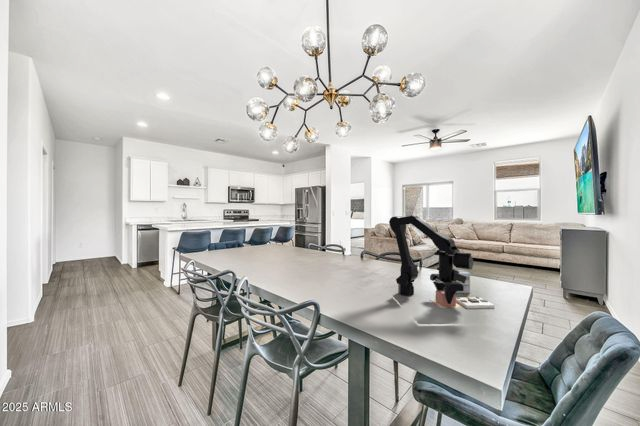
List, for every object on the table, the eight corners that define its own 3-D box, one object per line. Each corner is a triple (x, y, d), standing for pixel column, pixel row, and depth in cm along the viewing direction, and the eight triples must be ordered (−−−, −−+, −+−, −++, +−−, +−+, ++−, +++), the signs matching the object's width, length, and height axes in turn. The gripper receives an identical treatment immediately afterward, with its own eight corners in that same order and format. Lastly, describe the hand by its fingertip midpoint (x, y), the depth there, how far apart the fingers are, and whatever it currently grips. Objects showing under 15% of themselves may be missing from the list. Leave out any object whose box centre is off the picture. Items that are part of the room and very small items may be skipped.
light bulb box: (464, 290, 140) (464, 270, 140) (470, 294, 133) (470, 273, 133) (443, 290, 141) (443, 269, 141) (448, 294, 134) (448, 272, 134)
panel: (466, 310, 113) (466, 304, 113) (454, 301, 123) (454, 296, 123) (494, 309, 113) (494, 304, 113) (479, 301, 123) (479, 296, 123)
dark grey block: (472, 306, 116) (472, 300, 116) (468, 303, 119) (468, 298, 119) (478, 306, 116) (479, 300, 116) (474, 303, 119) (474, 298, 119)
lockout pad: (439, 309, 113) (439, 307, 113) (429, 301, 123) (429, 299, 123) (463, 309, 114) (463, 307, 114) (450, 301, 124) (450, 299, 124)
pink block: (442, 305, 115) (442, 294, 115) (435, 301, 121) (435, 290, 121) (455, 305, 116) (455, 294, 115) (448, 301, 122) (448, 290, 121)
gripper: (476, 270, 109) (476, 308, 109) (452, 261, 128) (452, 294, 128) (449, 270, 109) (449, 309, 109) (429, 261, 127) (429, 294, 128)
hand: (445, 301), depth 118 cm, fingers closed on pink block, 6 cm apart
